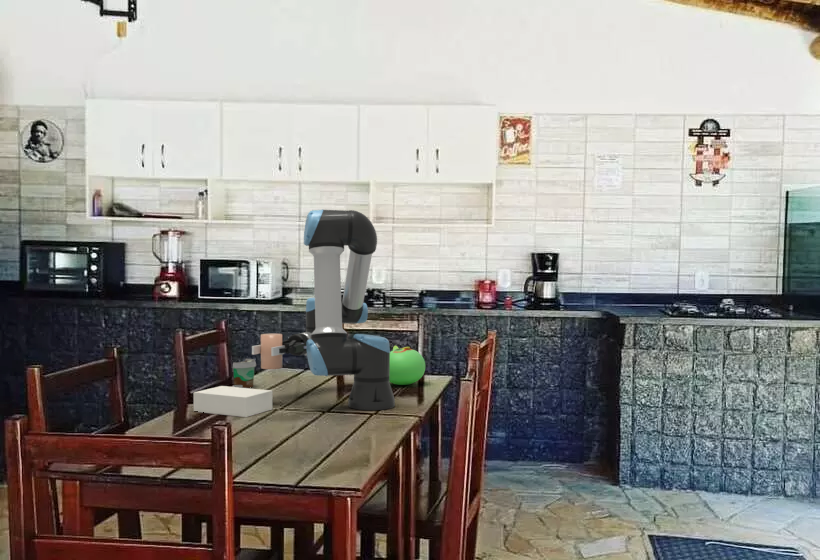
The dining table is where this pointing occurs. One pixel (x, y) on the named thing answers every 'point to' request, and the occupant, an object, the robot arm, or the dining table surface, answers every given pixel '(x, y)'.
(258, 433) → the dining table surface
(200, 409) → the cream riser
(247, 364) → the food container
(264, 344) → the terracotta canister
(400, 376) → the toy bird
